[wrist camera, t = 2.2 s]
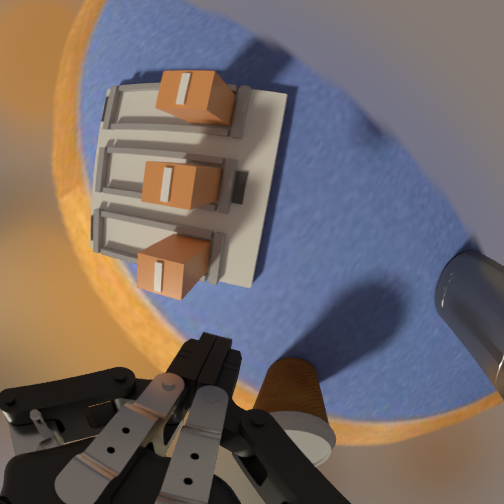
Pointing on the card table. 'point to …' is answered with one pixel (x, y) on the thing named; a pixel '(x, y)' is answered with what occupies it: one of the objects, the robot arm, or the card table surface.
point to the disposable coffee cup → (298, 407)
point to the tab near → (196, 97)
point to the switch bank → (191, 152)
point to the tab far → (173, 265)
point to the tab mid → (180, 184)
